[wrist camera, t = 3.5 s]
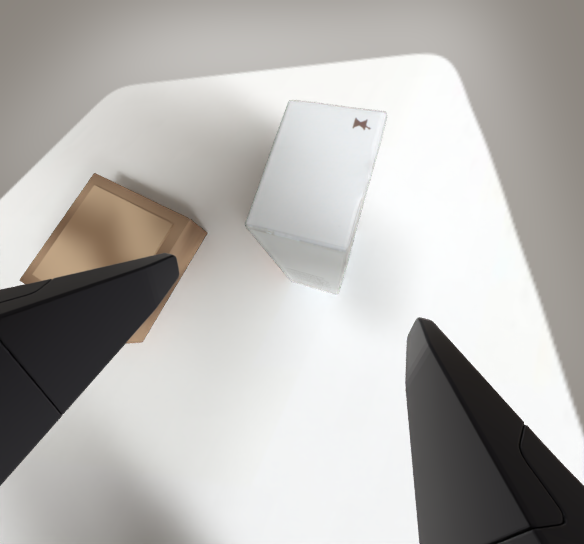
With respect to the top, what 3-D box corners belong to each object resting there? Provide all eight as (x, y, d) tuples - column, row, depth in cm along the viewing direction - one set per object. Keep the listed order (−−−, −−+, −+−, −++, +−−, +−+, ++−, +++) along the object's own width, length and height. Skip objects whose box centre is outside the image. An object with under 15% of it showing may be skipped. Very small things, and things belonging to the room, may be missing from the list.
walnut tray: (142, 342, 21) (111, 344, 18) (56, 286, 24) (17, 279, 21) (207, 232, 23) (189, 217, 20) (120, 190, 25) (92, 171, 22)
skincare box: (308, 218, 22) (288, 93, 10) (356, 229, 21) (393, 107, 10) (287, 283, 21) (239, 225, 9) (337, 297, 20) (353, 253, 8)
